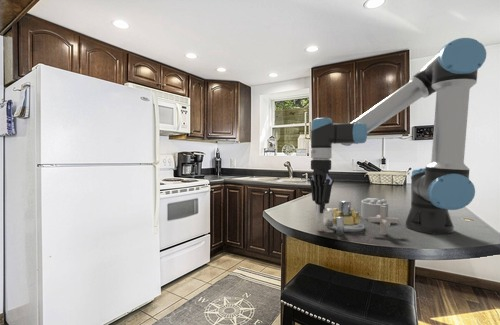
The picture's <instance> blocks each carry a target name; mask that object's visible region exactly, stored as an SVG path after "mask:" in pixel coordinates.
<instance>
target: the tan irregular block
mask: <svg viewBox="0 0 500 325" xmlns="http://www.w3.org/2000/svg"><path fill="white" fill-rule="evenodd" d="M337 217H344V224H346V225H353V224H359V223H360V221H361V214H360V213H359V211H358V212H357V211H355V209H354V208H351V216H342V212H340V211H339V208H337V207H333V208H328V207H327V208H326V207H325V209H323V221H322V223H323V224H322V225H323V226H324V227H327V228H328V227H333V226H334V224H336V219H337Z"/></svg>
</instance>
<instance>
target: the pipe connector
mask: <svg viewBox="0 0 500 325" xmlns="http://www.w3.org/2000/svg"><path fill="white" fill-rule="evenodd" d="M366 221H367V222H368V223H379V234H380V235H381V236H386V235H387V232H386V230H387V229H386V228H387V227H390V226H391V224H400V218H398V217H388V218H386V206H380V215H377V216H376V217H368V218H367V219H366Z"/></svg>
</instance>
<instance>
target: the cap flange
mask: <svg viewBox="0 0 500 325" xmlns="http://www.w3.org/2000/svg"><path fill="white" fill-rule="evenodd" d="M351 209H352V201H351V200H338V211H340V212H342V216H351ZM327 228H328V229H330V230H334V231H336V224H334V226H333V227H327ZM364 229H365V222H363V221H361V220H360V223H359V224H353V225H346V224H344V232H346V233H347V232H348V233H358V232H362V231H364Z"/></svg>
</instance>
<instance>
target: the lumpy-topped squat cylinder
mask: <svg viewBox="0 0 500 325" xmlns="http://www.w3.org/2000/svg"><path fill="white" fill-rule="evenodd" d="M360 201H361V202H360V203H361V204H360V218H362V219H364V220H367V218H368V217H376V216H377V215H380V206H386V218H389V203H388V202H387V200H386V199H383V198H382V199H379V198H377V197H376V198H375V197H374V198H373V197H366V198H364V199H362V200H360Z"/></svg>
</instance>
